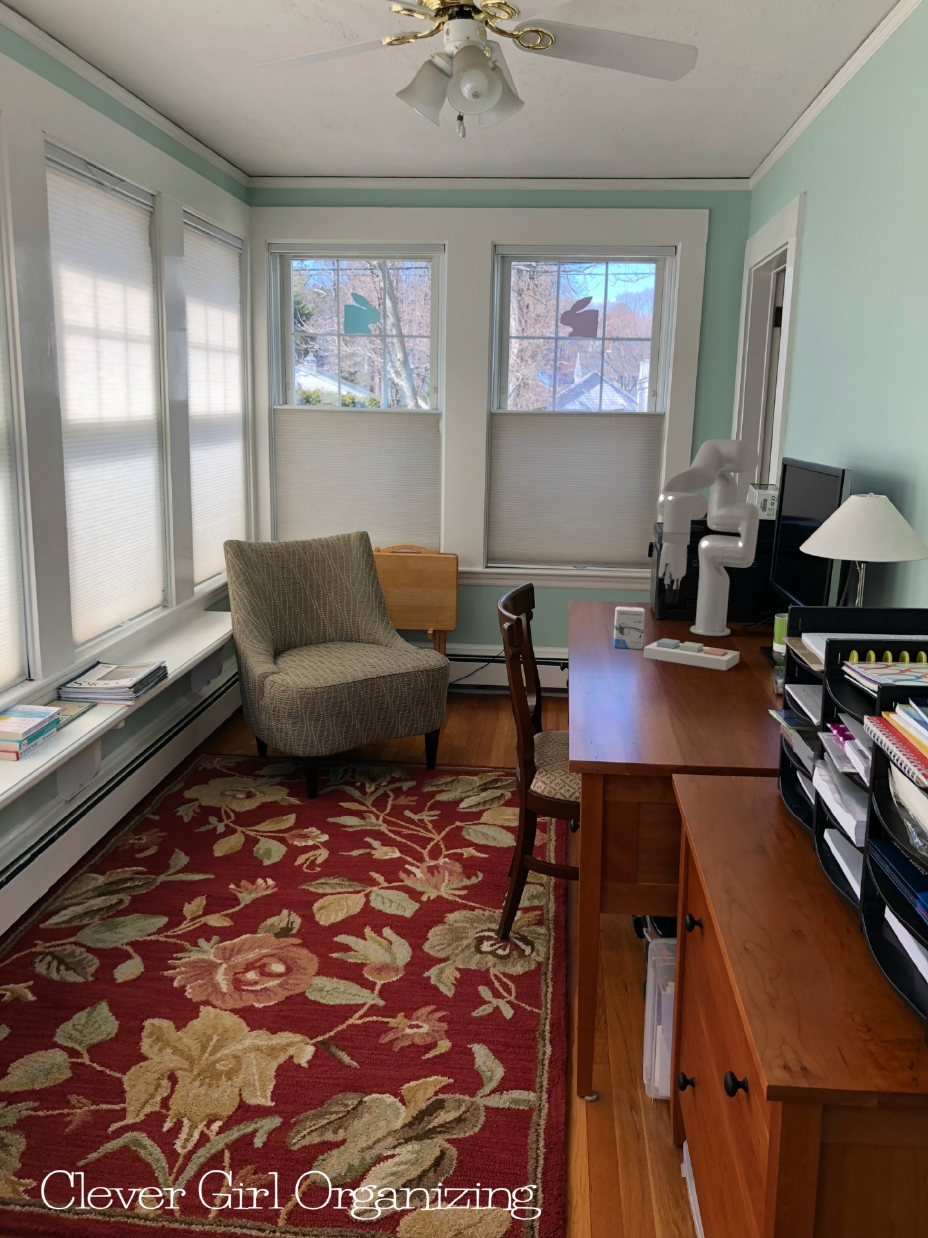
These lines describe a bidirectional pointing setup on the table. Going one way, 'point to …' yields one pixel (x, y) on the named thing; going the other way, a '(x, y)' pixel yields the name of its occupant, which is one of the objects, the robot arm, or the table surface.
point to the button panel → (692, 657)
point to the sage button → (691, 647)
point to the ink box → (629, 627)
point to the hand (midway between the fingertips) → (671, 602)
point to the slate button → (668, 643)
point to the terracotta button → (715, 652)
